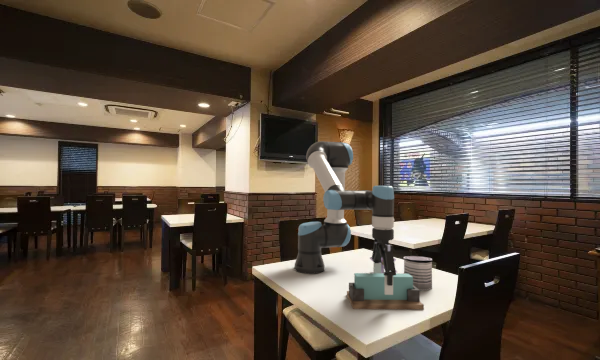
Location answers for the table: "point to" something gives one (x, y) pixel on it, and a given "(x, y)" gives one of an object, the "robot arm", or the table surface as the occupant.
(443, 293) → the table surface
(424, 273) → the can
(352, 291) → the endcap board
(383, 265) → the water lily
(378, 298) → the teal rectangular block
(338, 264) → the table surface
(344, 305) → the table surface
